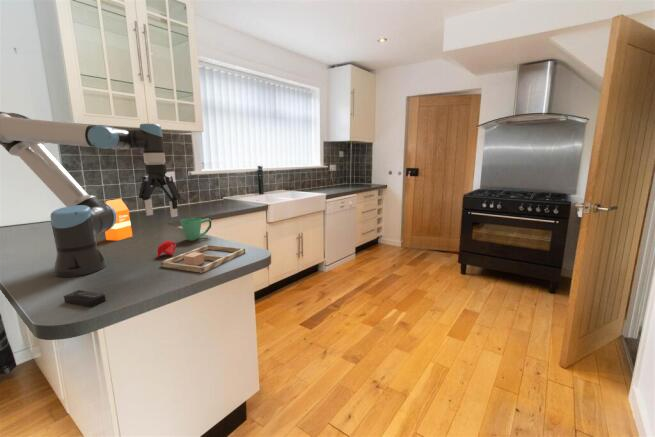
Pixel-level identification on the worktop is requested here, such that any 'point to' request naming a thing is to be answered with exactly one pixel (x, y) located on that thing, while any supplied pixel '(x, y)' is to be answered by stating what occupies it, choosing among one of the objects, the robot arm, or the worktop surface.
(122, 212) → the orange juice
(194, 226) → the mug
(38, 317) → the worktop surface
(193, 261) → the block
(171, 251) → the red rounded oval lump
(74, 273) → the robot arm
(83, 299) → the multiport hub
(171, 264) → the rack
